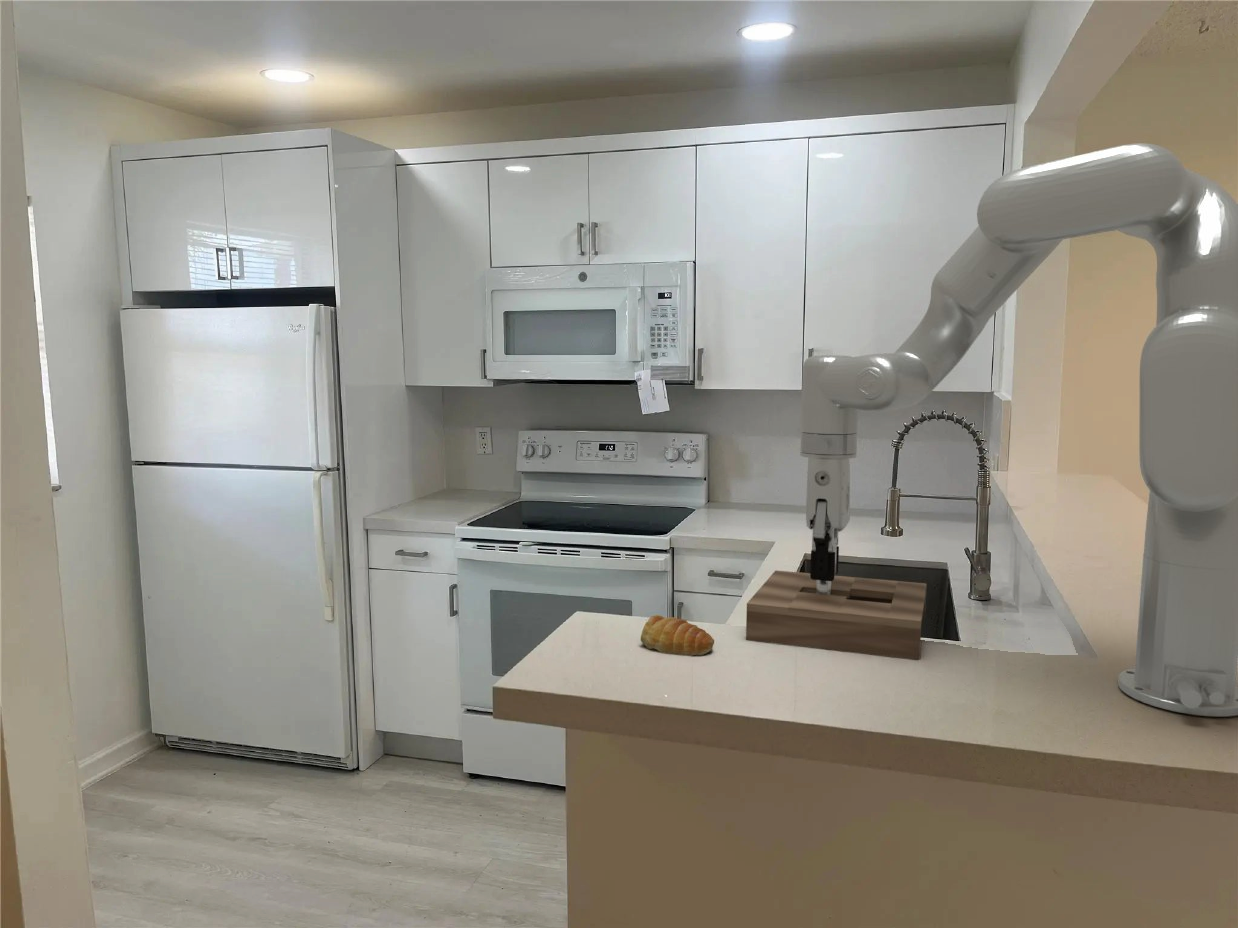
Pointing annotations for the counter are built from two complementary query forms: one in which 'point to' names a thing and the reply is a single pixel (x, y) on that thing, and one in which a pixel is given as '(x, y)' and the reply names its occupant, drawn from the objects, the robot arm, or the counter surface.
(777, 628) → the keyhole plate
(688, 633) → the pastry
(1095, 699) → the counter surface
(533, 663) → the counter surface
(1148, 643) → the robot arm
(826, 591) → the keyhole bolt
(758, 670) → the counter surface
